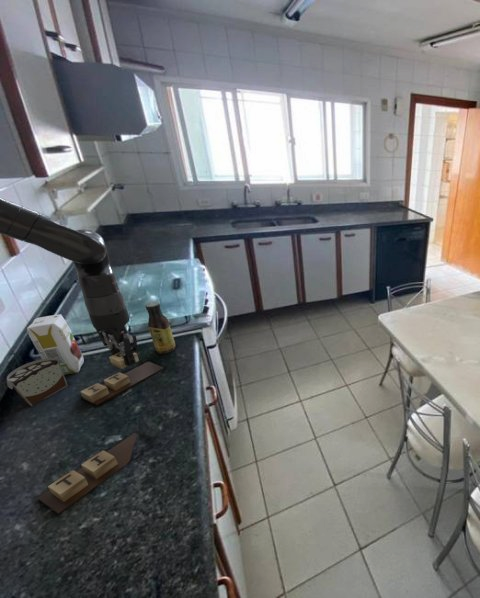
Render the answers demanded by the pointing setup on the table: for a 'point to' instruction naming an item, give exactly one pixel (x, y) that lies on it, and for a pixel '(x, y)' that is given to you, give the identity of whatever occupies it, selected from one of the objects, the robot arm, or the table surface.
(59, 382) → the food container
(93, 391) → the right word rack
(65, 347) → the juice carton
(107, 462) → the left word rack
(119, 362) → the s tile
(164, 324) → the sauce bottle
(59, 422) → the table surface
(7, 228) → the robot arm
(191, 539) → the table surface
